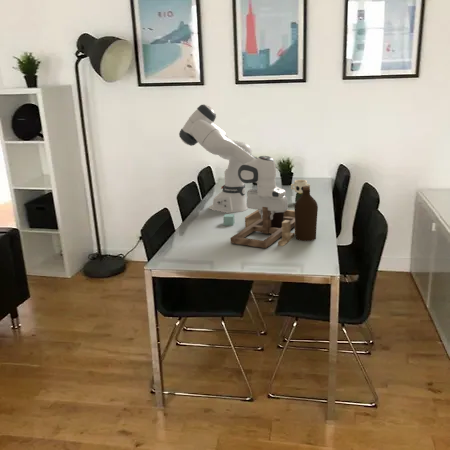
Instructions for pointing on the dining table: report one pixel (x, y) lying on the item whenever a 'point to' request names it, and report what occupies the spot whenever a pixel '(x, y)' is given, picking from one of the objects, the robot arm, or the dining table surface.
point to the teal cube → (229, 219)
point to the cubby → (256, 216)
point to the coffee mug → (277, 219)
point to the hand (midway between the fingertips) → (266, 218)
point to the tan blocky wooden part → (286, 233)
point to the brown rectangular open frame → (259, 228)
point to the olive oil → (306, 216)
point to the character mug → (299, 187)
